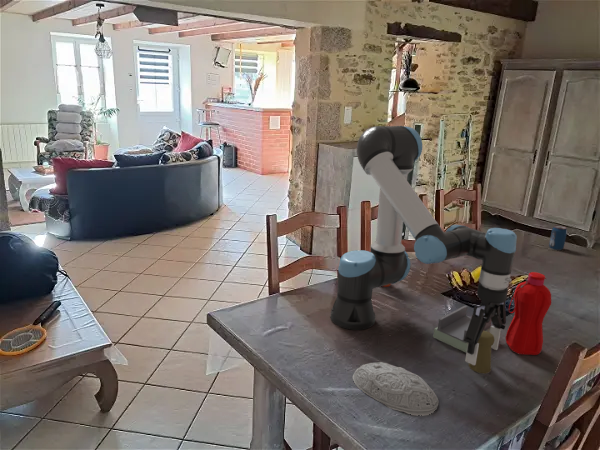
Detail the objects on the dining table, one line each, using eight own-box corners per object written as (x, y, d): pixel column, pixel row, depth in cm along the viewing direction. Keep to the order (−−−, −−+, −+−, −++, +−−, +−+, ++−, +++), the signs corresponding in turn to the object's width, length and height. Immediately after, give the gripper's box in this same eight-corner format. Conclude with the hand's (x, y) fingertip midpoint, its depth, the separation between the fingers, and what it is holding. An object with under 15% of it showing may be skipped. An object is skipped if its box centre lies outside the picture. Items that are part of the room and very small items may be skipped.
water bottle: (496, 339, 145) (509, 267, 138) (530, 341, 145) (545, 268, 138) (507, 355, 137) (522, 279, 130) (544, 357, 136) (561, 280, 129)
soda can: (564, 248, 240) (569, 227, 237) (561, 251, 235) (565, 229, 232) (550, 245, 245) (555, 224, 241) (546, 248, 240) (551, 226, 236)
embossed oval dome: (428, 425, 106) (431, 398, 105) (337, 387, 120) (339, 364, 119) (450, 398, 118) (453, 374, 117) (365, 367, 133) (367, 345, 131)
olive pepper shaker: (491, 364, 132) (497, 330, 128) (490, 375, 126) (496, 340, 123) (469, 359, 134) (474, 325, 131) (467, 369, 129) (473, 335, 126)
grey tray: (467, 353, 137) (470, 332, 135) (433, 337, 146) (435, 317, 144) (492, 336, 147) (496, 317, 145) (459, 322, 156) (462, 304, 154)
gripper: (484, 301, 112) (472, 377, 118) (526, 279, 128) (513, 346, 134) (457, 291, 118) (446, 364, 124) (500, 271, 133) (489, 336, 139)
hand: (481, 355), depth 129 cm, fingers open, 12 cm apart
